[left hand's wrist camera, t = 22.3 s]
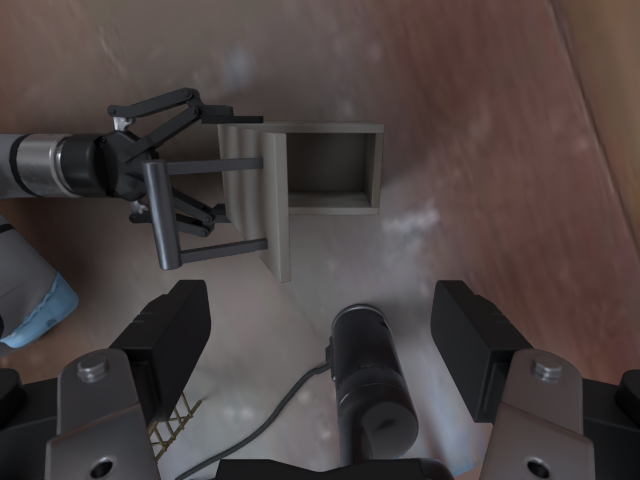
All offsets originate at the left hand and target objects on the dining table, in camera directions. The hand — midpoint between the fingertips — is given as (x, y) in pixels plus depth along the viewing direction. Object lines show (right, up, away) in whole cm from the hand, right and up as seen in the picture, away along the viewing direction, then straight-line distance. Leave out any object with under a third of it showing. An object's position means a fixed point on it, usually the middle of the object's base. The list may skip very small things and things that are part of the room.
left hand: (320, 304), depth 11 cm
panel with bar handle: (-6, +7, +18) cm, 20 cm away
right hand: (-7, +11, +30) cm, 32 cm away
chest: (-2, +13, +35) cm, 38 cm away
